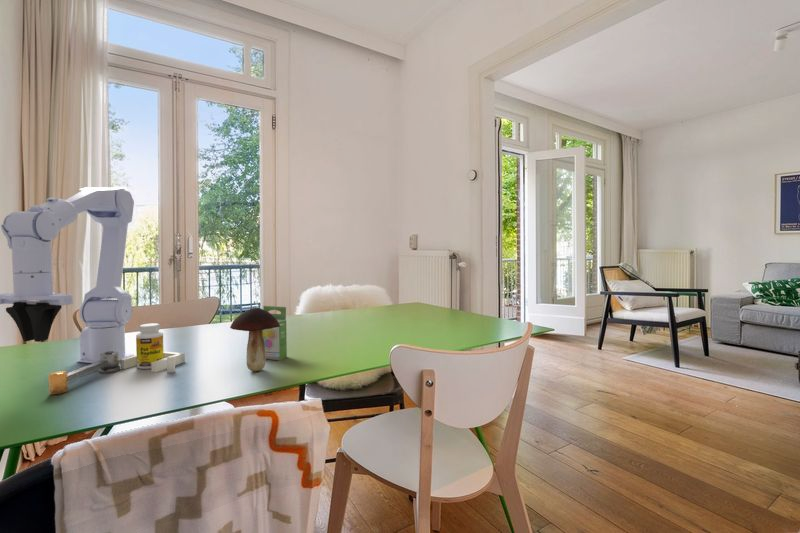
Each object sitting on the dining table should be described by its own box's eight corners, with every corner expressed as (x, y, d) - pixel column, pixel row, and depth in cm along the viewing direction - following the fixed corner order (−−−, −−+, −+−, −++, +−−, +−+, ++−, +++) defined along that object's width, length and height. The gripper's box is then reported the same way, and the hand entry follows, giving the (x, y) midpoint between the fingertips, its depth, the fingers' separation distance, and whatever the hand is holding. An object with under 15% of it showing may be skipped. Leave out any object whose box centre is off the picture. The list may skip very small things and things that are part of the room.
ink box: (255, 358, 104) (254, 307, 103) (264, 354, 107) (263, 305, 107) (278, 360, 102) (278, 309, 101) (287, 356, 106) (286, 306, 105)
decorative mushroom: (268, 361, 101) (267, 303, 100) (288, 371, 93) (288, 308, 92) (223, 370, 94) (222, 307, 93) (241, 382, 85) (240, 313, 85)
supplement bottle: (136, 371, 93) (135, 328, 92) (136, 365, 97) (135, 324, 97) (164, 367, 96) (163, 325, 95) (163, 361, 100) (162, 321, 100)
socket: (120, 368, 95) (120, 359, 94) (151, 358, 103) (151, 350, 103) (155, 372, 92) (155, 363, 92) (184, 361, 100) (184, 353, 100)
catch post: (165, 372, 92) (165, 357, 92) (171, 370, 93) (170, 355, 93) (171, 373, 92) (170, 358, 91) (176, 370, 93) (176, 356, 93)
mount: (94, 372, 91) (94, 369, 91) (111, 367, 95) (111, 364, 95) (108, 374, 90) (108, 370, 90) (124, 369, 94) (124, 365, 94)
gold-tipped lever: (107, 367, 95) (106, 349, 94) (122, 367, 95) (122, 350, 94) (43, 394, 77) (42, 373, 77) (61, 394, 77) (60, 373, 77)
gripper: (-24, 273, 75) (-21, 344, 76) (47, 274, 74) (50, 346, 74) (15, 271, 82) (18, 336, 83) (80, 271, 81) (83, 337, 81)
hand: (35, 340), depth 79 cm, fingers closed
